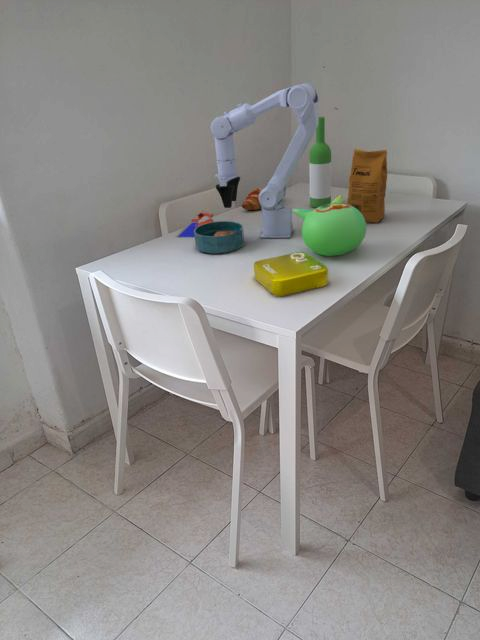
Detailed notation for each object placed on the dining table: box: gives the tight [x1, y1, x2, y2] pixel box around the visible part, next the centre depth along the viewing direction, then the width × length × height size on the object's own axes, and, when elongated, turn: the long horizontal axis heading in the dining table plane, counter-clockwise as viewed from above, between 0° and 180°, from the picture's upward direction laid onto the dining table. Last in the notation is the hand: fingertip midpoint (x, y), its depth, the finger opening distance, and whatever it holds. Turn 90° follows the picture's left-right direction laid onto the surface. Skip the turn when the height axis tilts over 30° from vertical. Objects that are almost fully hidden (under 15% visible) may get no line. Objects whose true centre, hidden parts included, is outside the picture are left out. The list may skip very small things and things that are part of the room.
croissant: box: [241, 188, 264, 211], centre depth 187 cm, size 21×10×8 cm, turn 141°
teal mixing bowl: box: [194, 220, 245, 255], centre depth 151 cm, size 15×15×6 cm
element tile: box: [253, 251, 329, 297], centre depth 125 cm, size 15×15×5 cm
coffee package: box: [346, 148, 388, 224], centre depth 161 cm, size 10×12×22 cm
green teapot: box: [292, 194, 367, 257], centre depth 137 cm, size 18×17×15 cm
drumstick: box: [214, 231, 235, 236], centre depth 151 cm, size 12×4×4 cm, turn 81°
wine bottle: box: [308, 116, 332, 209], centre depth 175 cm, size 8×8×30 cm
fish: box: [177, 210, 214, 238], centre depth 166 cm, size 13×5×9 cm
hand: (230, 204), depth 158 cm, fingers open, 7 cm apart
